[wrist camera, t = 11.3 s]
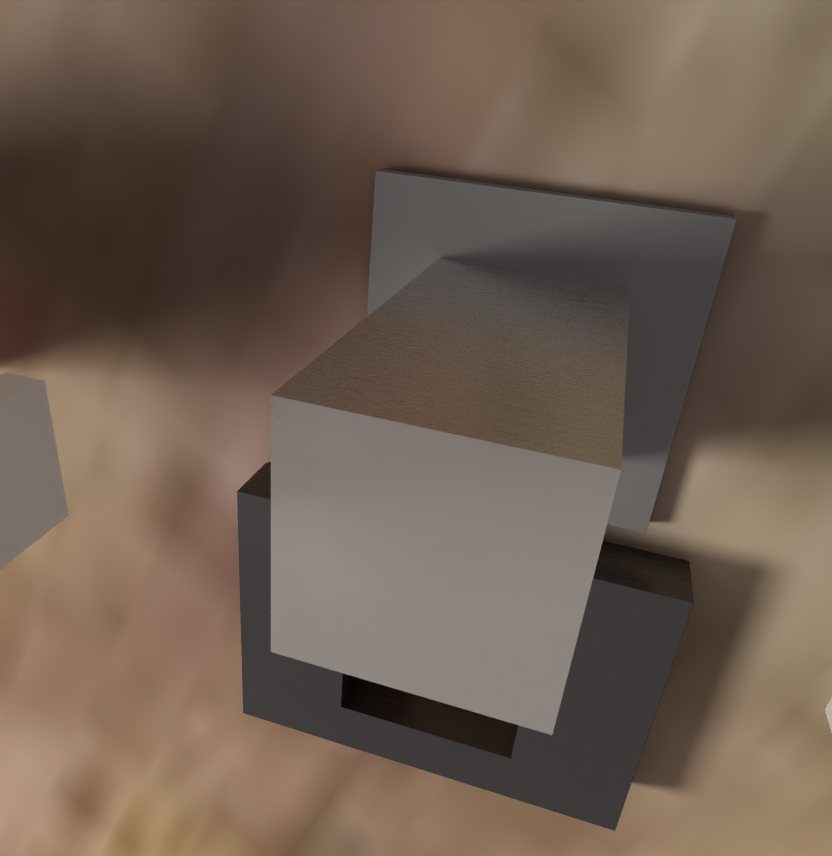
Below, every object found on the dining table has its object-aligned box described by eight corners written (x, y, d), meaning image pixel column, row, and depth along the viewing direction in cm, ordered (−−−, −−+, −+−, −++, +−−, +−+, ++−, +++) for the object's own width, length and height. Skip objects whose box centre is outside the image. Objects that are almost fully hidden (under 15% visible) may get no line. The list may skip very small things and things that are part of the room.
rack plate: (266, 462, 24) (237, 491, 22) (688, 561, 21) (693, 602, 20) (267, 675, 29) (243, 713, 27) (616, 781, 26) (615, 830, 24)
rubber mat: (382, 168, 19) (375, 170, 18) (733, 215, 17) (736, 219, 17) (363, 459, 23) (357, 467, 22) (645, 522, 21) (646, 533, 21)
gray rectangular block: (440, 257, 19) (271, 394, 10) (629, 287, 18) (620, 470, 9) (422, 423, 21) (270, 651, 12) (589, 458, 20) (552, 735, 11)
